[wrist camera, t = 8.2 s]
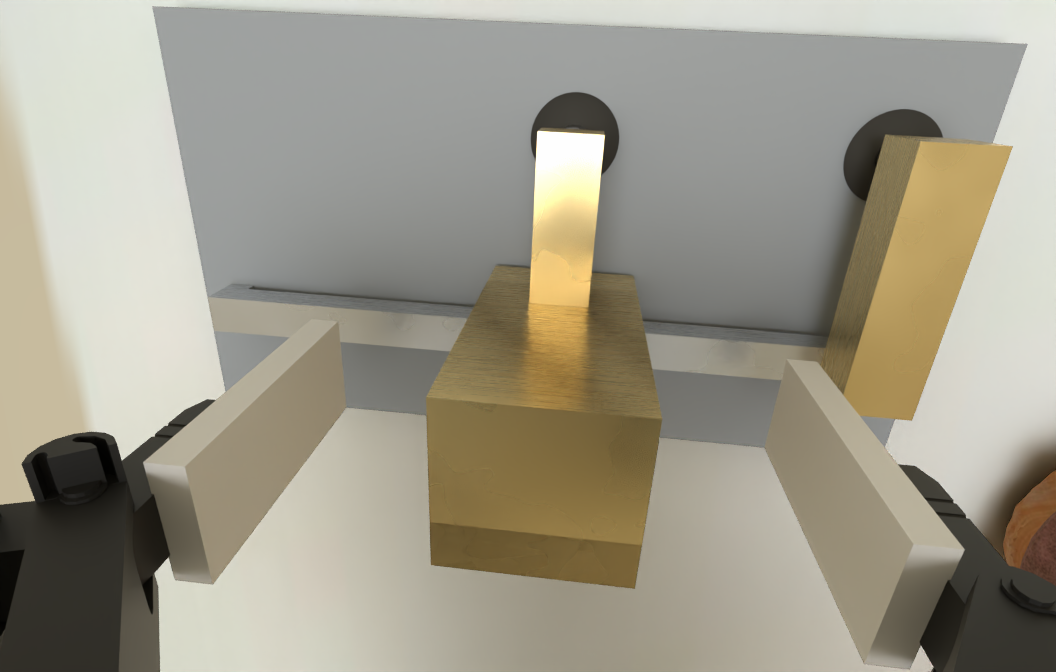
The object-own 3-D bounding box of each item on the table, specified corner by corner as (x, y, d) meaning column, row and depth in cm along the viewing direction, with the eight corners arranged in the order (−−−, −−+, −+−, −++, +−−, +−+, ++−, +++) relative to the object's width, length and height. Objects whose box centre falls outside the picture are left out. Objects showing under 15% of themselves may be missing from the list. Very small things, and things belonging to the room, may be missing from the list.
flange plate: (243, 380, 23) (225, 397, 22) (179, 10, 18) (150, 5, 17) (866, 439, 22) (881, 459, 20) (998, 46, 16) (1029, 43, 15)
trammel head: (492, 380, 20) (431, 564, 13) (499, 119, 17) (418, 155, 9) (619, 392, 20) (634, 588, 12) (652, 128, 17) (702, 171, 9)
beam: (237, 315, 21) (178, 354, 18) (199, 93, 18) (122, 96, 15) (879, 369, 19) (930, 422, 16) (956, 135, 16) (1036, 147, 13)
